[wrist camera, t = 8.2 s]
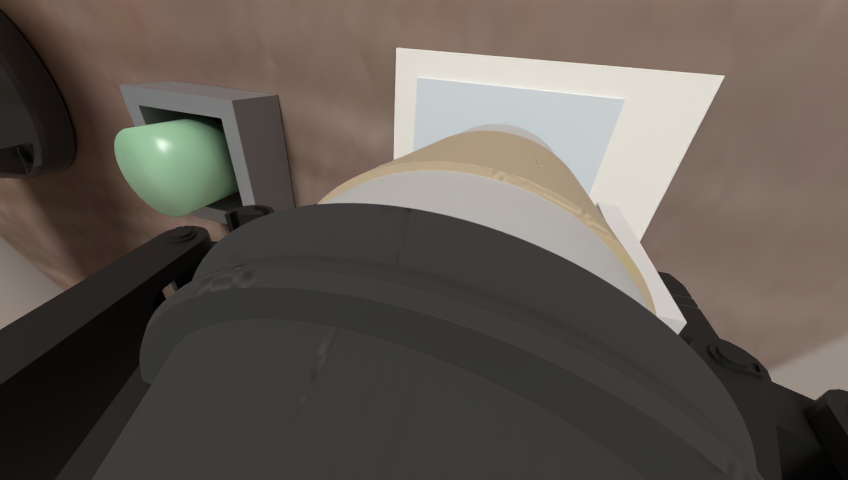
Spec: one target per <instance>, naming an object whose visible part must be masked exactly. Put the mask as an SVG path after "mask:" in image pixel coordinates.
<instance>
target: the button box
mask: <svg viewBox="0 0 848 480" xmlns="http://www.w3.org/2000/svg"><path fill="white" fill-rule="evenodd" d="M118 85H119V87H120V90H121V92H122V95H123V98H124V100H125V103H126V105H127V108H128V110H129V113H130V115H131V118H132V120H133V123H134V126H135V127H138V126H144V125H150V124H157V123H163V122H169V121H175V120H181V119H188V118H194V117H198V116H197V115H203V116H210V117H216V118H221V120H222V124H223V128H224V132H225V136H226V140H227V144H228V148H229V152H230V156H231V160H232V164H233V168H234V172H235V176H236V180H237V184H238V188H239V191H238V192H236V193H234V194H231V195H229V196H227V197H225V198H222V199H220V200H218V201H215V202H213V203H211V204H209V205H206V206H204V207H202V208H199V209H197V210H195V211H193V212H190V213H188V215H192V216H196V217H200V218H204V219H208V220H212V221H216V222H220V223H224V224H227V222H226V218H225V215H224V214H226V213H227V212H229V211H230V210H232V209H235V208H238V207H242V206H247V205H265V206H268V207H271V208H272V209H273V210H274V211H275V212H278V211H281V210H286V209H291V208H295V204H294V197H293V191H292V185H291V178H290V172H289V165H288V159H287V152H286V146H285V140H284V133H283V127H282V120H281V114H280V107H279V101H278V95H275V94H267V93H260V92H252V91H245V90H237V89H230V88H222V87H215V86H207V85H200V84H192V83H184V82H177V81H175V82H156V83H137V84H118Z"/></svg>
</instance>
